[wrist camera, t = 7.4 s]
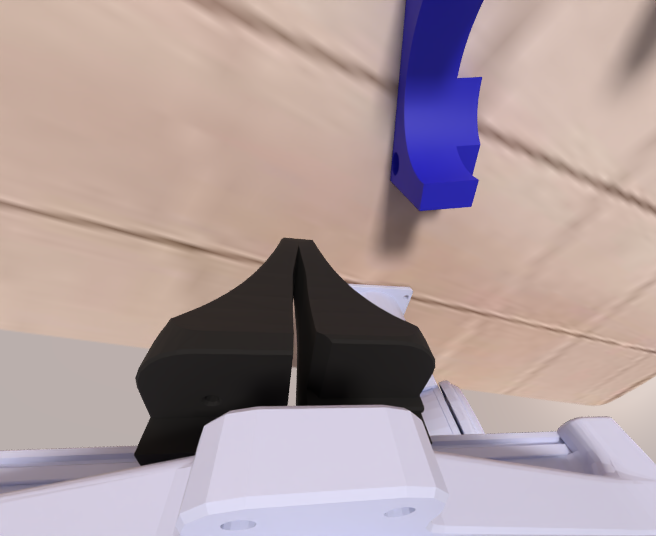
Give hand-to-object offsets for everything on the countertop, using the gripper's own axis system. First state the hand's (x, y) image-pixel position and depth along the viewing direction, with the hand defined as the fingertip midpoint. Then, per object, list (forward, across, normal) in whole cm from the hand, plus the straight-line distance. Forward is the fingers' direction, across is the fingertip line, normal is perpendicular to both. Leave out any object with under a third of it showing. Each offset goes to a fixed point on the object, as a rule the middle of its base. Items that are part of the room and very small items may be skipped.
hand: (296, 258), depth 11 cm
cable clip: (+10, -8, -8) cm, 15 cm away
